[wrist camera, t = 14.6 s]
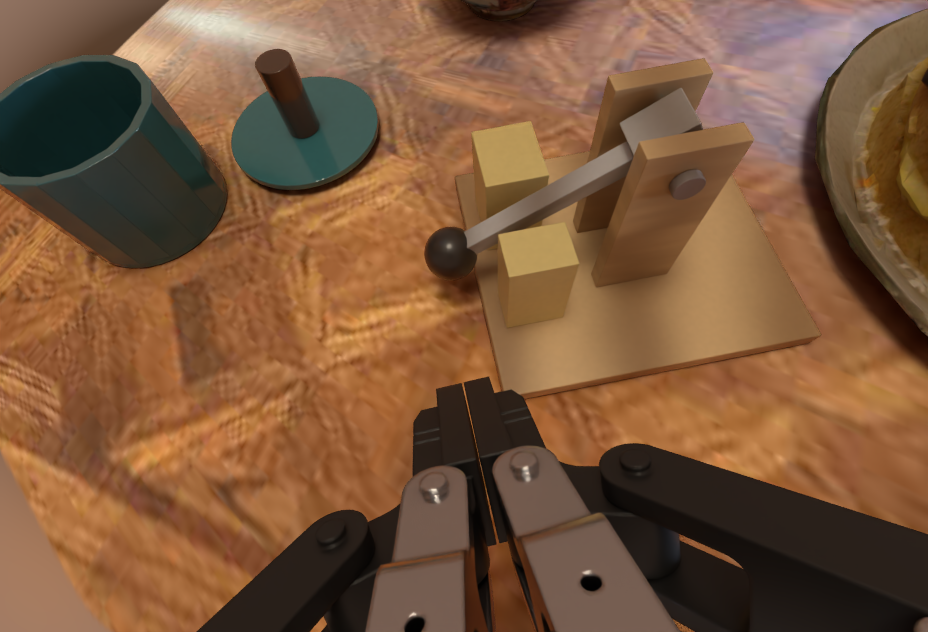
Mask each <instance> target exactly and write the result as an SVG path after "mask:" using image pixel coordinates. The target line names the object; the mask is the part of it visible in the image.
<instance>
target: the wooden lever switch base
mask: <svg viewBox="0 0 928 632" xmlns="http://www.w3.org/2000/svg"><path fill="white" fill-rule="evenodd" d="M712 75H713V71H712V69H711V68H710V66H709V65H708V63H707V61H706V60H705V58H703V59H697V60H692V61H686V62H681V63H675V64H670V65H664V66H659V67H653V68H648V69H642V70H637V71H632V72H626V73H621V74H615V75H610V76H608V79H607V83H606V87H605V92H604V96H603V100H602V104H601V108H600V112H599V116H598V120H597V124H596V128H595V133H594V137H593V141H592V145H591V149H590V151H588V152H583V153H577V154H572V155H566V156H561V157H556V158H550V159H545V160H544V161H545V164H546V167H547V170H548V173H549V180H548V185H549V184H551V183H553V182H554V181H556V180H558V179H560V178H562V177H563V176H565V175H567V174H569V173H571V172H572V171H574V170H576V169H578V168H579V167H581V166H583V165H585V164H587V163H588V162H590V161H592V160H594V159H596V158H597V157H599V156H601V155H603V154H605V153H606V152H608V151H610V150H612V149H614V148H615V147H617V146H619V145H621V144H622V143H624V142H627V140H626V138H625V135H624V133H623V131H622V129H621V127H620V122H622V121H624V120H626V119H627V118H629V117H631V116H633V115H634V114H636V113H638V112H639V111H641V110H643V109H645V108H646V107H648V106H650V105H651V104H653V103H655V102H657V101H658V100H660V99H662V98H664V97H665V96H667V95H669V94H670V93H672V92H674V91H676V90H677V89H679V88H682V89H683V91H684V93H685V94H686V96H687V98H688V100H689V102H690V103H691V105H692V107H693V109H694V111H696V109H697V107H698V104H699V102H700V100H701V98H702V96H703V94H704V92H705V90H706V87H707V85H708V83H709V81H710V79H711V77H712ZM753 141H754V138H753V136H752V134H751V133H750V131H749V130H748V128H747V126H746V125H745V123H744V122H742V123H737V124H731V125H726V126H721V127H715V128H710V129H704V130H699V131H694V132H688V133H683V134H678V135H672V136H667V137H661V138H656V139H651V140H645V141H640V142H639V143H638V146H637V149H636V152H635V154H634V157H633V160H632V163H631V165H630V168H629V171H628V174H627V176H625V177H623V178H621V179H619V180H618V181H616V182H614V183H612V184H610V185H608V186H606V187H604V188H602V189H600V190H599V191H597V192H595V193H593V194H591V195H589V196H587V197H585V198H583V199H581V200H579V201H578V202H576V203H574V204H572V205H570V206H568V207H566V208H564V209H562V210H560V211H558V212H557V213H555V214H553V215H551V216H549V217H547V218H545V219H543V221H542V226H545V225H550V224H556V223H561V222H565V223H566V225H567V228H568V231H569V234H570V237H571V240H572V243H573V246H574V249H575V252H576V255H577V258H578V261H579V267H578V270H577V273H576V277H575V280H574V283H573V286H572V290H571V293H570V296H569V300H568V303H567V306H566V309H565V313H564V316H563V317H562V318H557V319H551V320H546V321H541V322H536V323H531V324H526V325H520V326H515V327H510V328H506V324H505V320H504V316H503V312H502V308H501V304H500V300H499V296H498V248H497V249H492V250H487V249H486V250H484V251H482V252H480V253H478V255H477V261H476V264H475V266H474V271H475V275H476V279H477V284H478V288H479V293H480V297H481V302H482V306H483V311H484V315H485V320H486V324H487V329H488V333H489V337H490V342H491V346H492V351H493V355H494V360H495V364H496V369H497V373H498V378H499V382H500V387H501V391H506V390H510V389H512V390H513V391H515V392H517V393H518V394H520V395H521V396H523V398H524V399H527V398H532V397H537V396H542V395H547V394H552V393H557V392H563V391H568V390H573V389H578V388H583V387H588V386H593V385H598V384H603V383H608V382H613V381H618V380H624V379H629V378H634V377H639V376H644V375H649V374H654V373H659V372H664V371H669V370H674V369H679V368H685V367H690V366H695V365H700V364H705V363H710V362H715V361H720V360H725V359H730V358H735V357H740V356H745V355H751V354H756V353H761V352H766V351H771V350H776V349H781V348H786V347H791V346H796V345H801V344H806V343H810V342H812V341H813V340H815V339H816V338H818V337H820V336H821V333H820V331H819V329H818V328H817V326H816V324H815V322H814V320H813V319H812V317H811V315H810V313H809V311H808V310H807V308H806V306H805V304H804V303H803V301H802V299H801V297H800V295H799V294H798V292H797V290H796V288H795V286H794V285H793V283H792V281H791V279H790V278H789V276H788V274H787V272H786V270H785V269H784V267H783V265H782V263H781V261H780V260H779V258H778V256H777V254H776V253H775V251H774V249H773V247H772V245H771V244H770V242H769V240H768V238H767V236H766V235H765V233H764V231H763V229H762V228H761V226H760V224H759V222H758V220H757V219H756V217H755V215H754V213H753V211H752V210H751V208H750V206H749V204H748V203H747V201H746V199H745V197H744V195H743V194H742V192H741V190H740V188H739V186H738V185H737V183H736V181H735V179H734V178H733V176H732V173H733V172H734V170H735V169H736V167H737V166H738V164H739V163H740V161H741V159H742V158H743V156H744V155H745V153H746V152H747V150H748V149H749V147H750V146H751V144H752V143H753ZM455 184H456V190H457V195H458V199H459V204H460V208H461V212H462V217H463V221H464V226H465V230H466V231H467V230H468V229H470V228H472V227H474V226H476V225H477V224H479V223H481V222H480V218H479V214H478V209H477V205H476V200H475V184H474V173H470V174H464V175H459V176H455Z"/></svg>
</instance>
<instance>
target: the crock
mask: <svg viewBox="0 0 928 632" xmlns="http://www.w3.org/2000/svg"><path fill="white" fill-rule="evenodd" d="M0 189H1V190H3V191H4V192H6V193H7V194H8V195H10V196H11V197H13V198H14V199H16V200H17V201H18V202H20V203H21V204H23V205H24V206H26V207H27V208H28V209H30V210H31V211H33V212H34V213H36V214H37V215H38V216H40V217H41V218H43V219H44V220H46V221H47V222H48V223H50V224H51V225H53V226H54V227H56V228H57V229H59V230H60V231H61V232H63V233H64V234H66V235H67V236H69V237H70V238H71V239H73V240H74V241H76V242H77V243H79V244H80V245H81V246H83V247H84V248H86V249H87V250H89V251H90V252H91V253H93V254H95V255H97V256H99V257H100V258H102V259H104V260H105V261H107V262H109V263H111V264H114V265H117V266H121V267H127V268H144V267H151V266H156V265H160V264H163V263H166V262H169V261H171V260H173V259H176V258H178V257H180V256H182V255H183V254H185V253H187V252H188V251H190V250H191V249H193V248H194V247H196V246H197V245H198V244H199V243H200V242H201V241H203V240H204V239H205V238H206V237H207V236H208V235H209V234H210V233H211V231H212V230H213V229H214V227H215V226H216V225H217V223H218V221H219V220H220V218H221V216H222V213H223V211H224V208H225V205H226V199H227V188H226V183H225V180H224V178H223V176H222V174H221V172H220V171H219V169H218V168H217V167H216V165H215V164H214V163H213V161H212V160H211V159H210V157H209V156H208V155H207V154H206V152H205V151H204V150H203V148H202V147H201V146H200V144H199V143H198V142H197V140H196V139H195V138H194V136H193V135H192V134H191V132H190V131H189V130H188V129H187V127H186V126H185V125H184V123H183V122H182V121H181V119H180V118H179V117H178V115H177V114H176V113H175V111H174V110H173V109H172V107H171V106H170V105H169V103H168V102H167V101H166V100H165V98H164V97H163V96H162V94H161V93H160V92H159V90H158V89H157V88H156V86H155V85H154V84H153V82H152V81H151V80H150V79H149V77H148V76H147V75H146V74H145V73H144V71H143V70H142V69H141V68H140V66H139V65H138V64H136V63H134V62H131V61H128V60H126V59H123V58H120V57H117V56H114V55H83V56H78V57H74V58H70V59H66V60H62V61H58V62H55V63H51V64H48V65H46V66H44V67H42V68H40V69H38V70H36V71H34V72H32V73H30V74H28V75H26V76H24V77H22V78H20V79H18V80H17V81H15V82H14V83H13V84H12V85H10V86H9V87H8V88H7V89H5V90H4V91H3V92H2V93H0Z"/></svg>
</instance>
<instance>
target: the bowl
mask: <svg viewBox="0 0 928 632" xmlns="http://www.w3.org/2000/svg"><path fill="white" fill-rule="evenodd" d="M461 1H462V2H464V3H466V4H468V6H469V8H470V9H471V10H472V11H473V12H474V13H475V14H476V15H477V16H479V17H481V18H484V19H487V20H493V21H506V20H512V19H515V18H518V17H520V16H523V15H524V14H526V13H528V11H529V10H530V9H531V8H532V7H533V6H534V2H535V1H537V0H461Z"/></svg>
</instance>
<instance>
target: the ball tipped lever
mask: <svg viewBox="0 0 928 632" xmlns="http://www.w3.org/2000/svg"><path fill="white" fill-rule="evenodd" d="M620 127H621V129H622V131H623V133H624V135H625V138H626V140H627V142H624V143H622V144H621V145H619V146H617V147H615V148H614V149H612V150H610V151H608V152H606V153H605V154H603V155H601V156H599V157H597V158H596V159H594V160H592V161H590V162H588V163H587V164H585V165H583V166H581V167H579V168H578V169H576V170H574V171H572V172H571V173H569V174H567V175H565V176H563V177H562V178H560V179H558V180H556V181H554V182H553V183H551V184H549V185H547V186H545V187H544V188H542V189H540V190H538V191H536V192H535V193H533V194H531V195H529V196H528V197H526V198H524V199H522V200H520V201H519V202H517V203H515V204H513V205H511V206H510V207H508V208H506V209H504V210H502V211H501V212H499V213H497V214H495V215H493V216H492V217H490V218H488V219H486V220H485V221H483V222H481V223H479V224H477V225H476V226H474V227H472V228H470V229H468V230H467V231H464V230H463V229H460V228H457V227H445V228H442V229H439V230H437V231H436V232H435V233H433V234H432V235H431V236H430V238H429V239H428V241H427V243H426V246H425V252H424V255H425V261H426V264H427V266H428V268H429V269H430V270H431V272H432V273H433V274H435V275H436V276H438V277H439V278H442V279H445V280H457V279H461V278H463V277H465V276H466V275H468V274H469V273H470V272H471V271H472V269H473V268H474V266H475V264H476V261H477V255H478V253H480V252H482V251H484V250H486V249H488V248H490V247H492V246H494V245H496V244H497V243H498V234H503V233H508V232H513V231H519V230H524V229H526V228H528V227H530V226H532V225H534V224H536V223H538V222H539V221H541V220H543V219H545V218H547V217H549V216H551V215H553V214H555V213H557V212H558V211H560V210H562V209H564V208H566V207H568V206H570V205H572V204H574V203H576V202H578V201H579V200H581V199H583V198H585V197H587V196H589V195H591V194H593V193H595V192H597V191H599V190H600V189H602V188H604V187H606V186H608V185H610V184H612V183H614V182H616V181H618V180H619V179H621V178H623V177H625V176H627V174H628V171H629V168H630V165H631V163H632V160H633V157H634V154H635V152H636V149H637V146H638V143H639V142H640V141H645V140H651V139H656V138H661V137H667V136H672V135H678V134H683V133H688V132H694V131H699V130H703V128H702V124H701V121H700V119H699V118H698V116H697V114H696V112H695V111H694V109H693V107H692V105H691V103H690V102H689V100H688V98H687V96H686V94H685V93H684V91H683V89H682V88H679V89H677V90H676V91H674V92H672V93H670V94H669V95H667V96H665V97H664V98H662V99H660V100H658V101H657V102H655V103H653V104H651V105H650V106H648V107H646V108H645V109H643V110H641V111H639V112H638V113H636V114H634V115H633V116H631V117H629V118H627V119H626V120H624V121H622V122H620Z"/></svg>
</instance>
